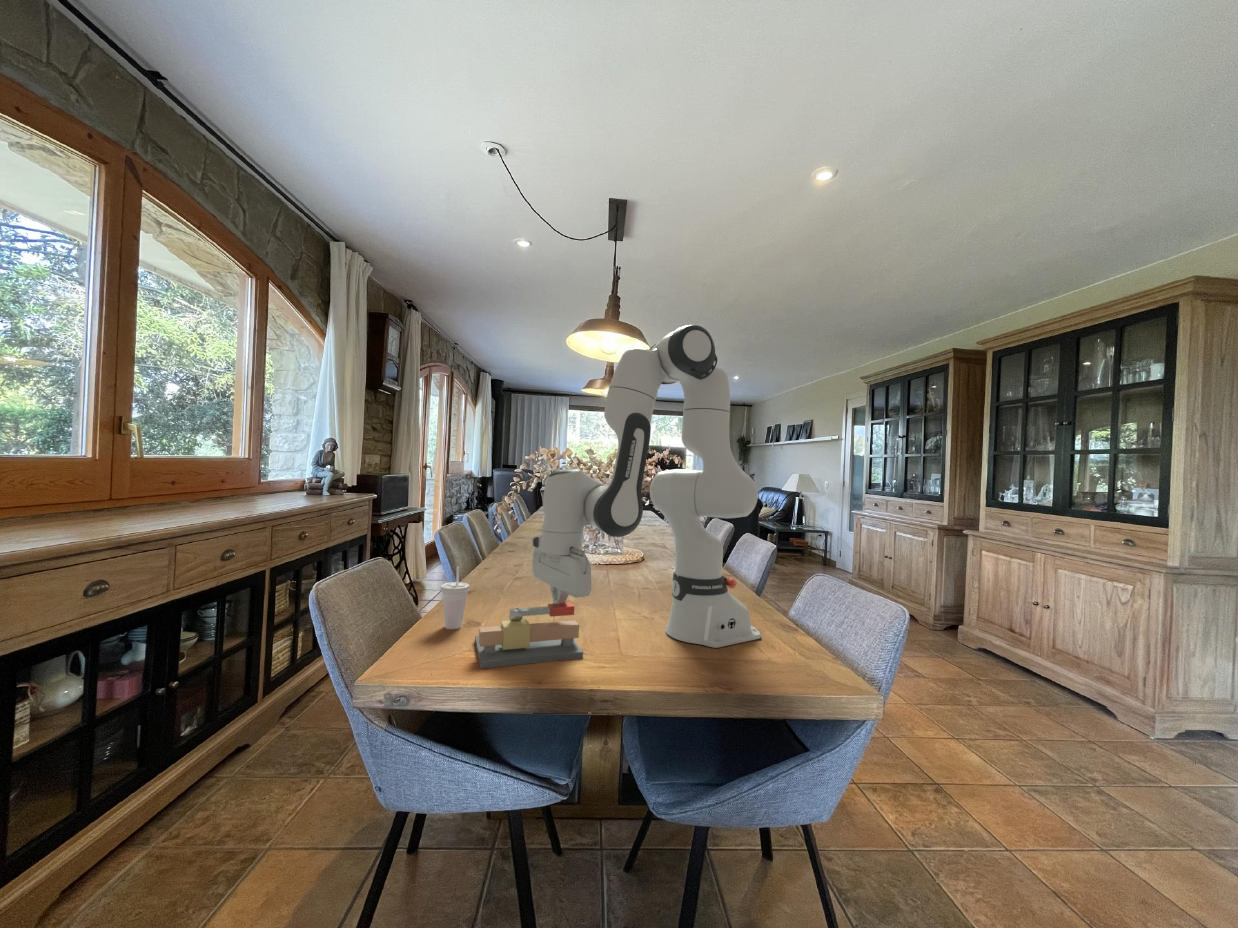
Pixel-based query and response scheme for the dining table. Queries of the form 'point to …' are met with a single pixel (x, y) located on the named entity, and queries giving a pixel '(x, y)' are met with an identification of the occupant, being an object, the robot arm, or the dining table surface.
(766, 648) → the dining table surface
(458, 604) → the smoothie
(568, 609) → the lever
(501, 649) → the board
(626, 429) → the robot arm
